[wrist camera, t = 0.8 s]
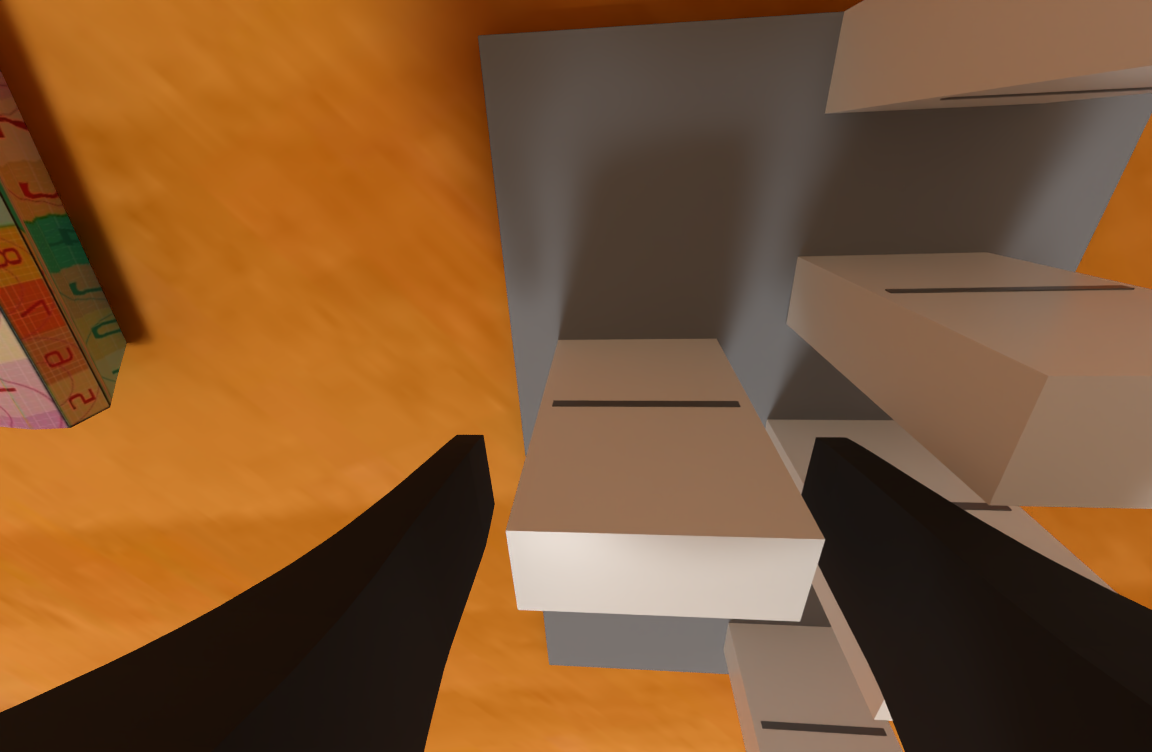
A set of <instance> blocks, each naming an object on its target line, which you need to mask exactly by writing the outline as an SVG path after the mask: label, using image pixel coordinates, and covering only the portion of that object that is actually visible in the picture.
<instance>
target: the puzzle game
mask: <svg viewBox="0 0 1152 752" xmlns="http://www.w3.org/2000/svg"><path fill="white" fill-rule="evenodd" d="M126 344H127V342H126V340H125V338H124V336H123V334H122V332H121V330H120V327H119V325H118V323H117V321H116V319H115V317H114V314H113V312H112V310H111V308H110V306H109V304H108V301H107V299H106V297H105V295H104V293H103V291H102V289H101V286H100V284H99V282H98V280H97V278H96V276H95V273H94V271H93V269H92V267H91V265H90V263H89V260H88V258H87V256H86V254H85V252H84V250H83V248H82V245H81V243H80V241H79V239H78V237H77V235H76V232H75V230H74V228H73V226H72V224H71V222H70V219H69V217H68V215H67V213H66V211H65V209H64V207H63V204H62V202H61V200H60V198H59V196H58V194H57V191H56V189H55V187H54V185H53V183H52V181H51V178H50V176H49V174H48V172H47V170H46V168H45V166H44V163H43V161H42V159H41V157H40V155H39V153H38V150H37V148H36V146H35V144H34V142H33V140H32V137H31V135H30V133H29V131H28V129H27V127H26V125H25V122H24V120H23V118H22V116H21V114H20V112H19V109H18V107H17V105H16V103H15V101H14V99H13V96H12V94H11V92H10V90H9V88H8V86H7V84H6V81H5V79H4V77H3V75H2V73H1V71H0V426H1V427H11V428H22V429H52V428H71V427H73V426H75V425H77V424H79V423H81V422H83V421H85V420H86V419H88V418H90V417H92V416H94V415H96V414H98V413H100V412H102V411H104V410H106V409H108V408H110V405H111V401H112V397H113V392H114V388H115V384H116V379H117V376H118V372H119V369H120V365H121V362H122V358H123V355H124V351H125V348H126Z"/></svg>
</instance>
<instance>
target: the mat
mask: <svg viewBox="0 0 1152 752" xmlns="http://www.w3.org/2000/svg"><path fill="white" fill-rule="evenodd" d="M843 15H844V12H830V13H815V14H800V15H784V16H769V17H754V18H739V19H724V20H708V21H693V22H678V23H663V24H648V25H632V26H617V27H602V28H587V29H571V30H556V31H541V32H526V33H511V34H495V35H480V36H478V41H479V50H480V59H481V68H482V76H483V85H484V94H485V103H486V112H487V120H488V129H489V138H490V147H491V156H492V164H493V173H494V182H495V191H496V200H497V208H498V217H499V226H500V235H501V244H502V252H503V261H504V270H505V279H506V288H507V296H508V305H509V314H510V323H511V332H512V340H513V349H514V358H515V367H516V376H517V385H518V393H519V402H520V411H521V420H522V429H523V437H524V446H525V455H527V452H528V448H529V444H530V441H531V437H532V433H533V430H534V426H535V422H536V419H537V415H538V412H539V408H540V404H541V401H542V397H543V393H544V390H545V386H546V382H547V379H548V375H549V372H550V368H551V364H552V361H553V357H554V353H555V350H556V346H557V343H558V340H609V339H717V341H718V342H719V344H720V346H721V348H722V350H723V352H724V353H725V355H726V357H727V359H728V361H729V363H730V365H731V366H732V368H733V370H734V372H735V374H736V376H737V377H738V379H739V381H740V383H741V385H742V387H743V389H744V390H745V392H746V394H747V396H748V398H749V400H750V401H751V403H752V405H753V407H754V409H755V411H756V413H757V414H758V416H759V418H760V420H761V422H762V424H763V425H764V427H766V422H767V420H893V419H892V418H891V417H890V416H889V415H888V414H887V413H885V412H884V411H883V410H882V409H881V408H880V407H879V406H878V405H877V404H875V403H874V402H873V401H872V400H871V399H870V398H869V397H868V396H866V395H865V394H864V393H863V392H862V391H861V390H860V389H859V388H857V387H856V386H855V385H854V384H853V383H852V382H851V381H850V380H849V379H847V378H846V377H845V376H844V375H843V374H842V373H841V372H840V371H838V370H837V369H836V368H835V367H834V366H833V365H832V364H831V363H830V362H828V361H827V360H826V359H825V358H824V357H823V356H822V355H821V354H819V353H818V352H817V351H816V350H815V349H814V348H813V347H812V346H811V345H809V344H808V343H807V342H806V341H805V340H804V339H803V338H802V337H800V336H799V335H798V334H797V333H796V332H795V331H794V330H793V329H791V328H790V327H789V326H788V325H787V324H786V322H787V316H788V310H789V305H790V299H791V293H792V287H793V281H794V276H795V270H796V264H797V258H798V257H800V256H844V255H888V254H932V253H975V252H988V253H992V254H996V255H1001V256H1005V257H1010V258H1014V259H1019V260H1023V261H1028V262H1032V263H1036V264H1041V265H1045V266H1050V267H1054V268H1059V269H1063V270H1067V271H1072V272H1075V271H1076V269H1077V267H1078V265H1079V263H1080V261H1081V258H1082V256H1083V254H1084V252H1085V250H1086V248H1087V246H1088V244H1089V242H1090V240H1091V238H1092V236H1093V234H1094V231H1095V229H1096V227H1097V225H1098V223H1099V221H1100V219H1101V217H1102V215H1103V213H1104V211H1105V209H1106V207H1107V204H1108V202H1109V200H1110V198H1111V196H1112V194H1113V192H1114V190H1115V188H1116V186H1117V184H1118V182H1119V180H1120V177H1121V175H1122V173H1123V171H1124V169H1125V167H1126V165H1127V163H1128V161H1129V159H1130V157H1131V155H1132V153H1133V151H1134V148H1135V146H1136V144H1137V142H1138V140H1139V138H1140V136H1141V134H1142V132H1143V130H1144V128H1145V126H1146V124H1147V121H1148V119H1149V117H1150V115H1151V113H1152V93H1144V94H1133V95H1123V96H1113V97H1103V98H1092V99H1082V100H1072V101H1061V102H1051V103H1038V104H1018V105H997V106H976V107H955V108H934V109H913V110H892V111H871V112H850V113H830V114H825V110H826V105H827V100H828V94H829V89H830V84H831V79H832V73H833V68H834V63H835V57H836V52H837V47H838V42H839V36H840V31H841V26H842V20H843ZM543 613H544V622H545V631H546V640H547V649H548V657H549V665H564V666H583V667H603V668H622V669H641V670H660V671H680V672H699V673H718V674H729V672H728V667H727V663H726V658H725V654H724V644H725V639H726V633H727V628H728V623H745V624H768V625H792V626H815V627H831V624H830V622H829V620H828V618H827V616H826V614H825V611H824V609H823V607H822V605H821V603H820V600H819V598H818V596H817V594H816V592H815V589H814V587H813V585H812V584H811V587H810V591H809V594H808V597H807V601H806V604H805V607H804V610H803V614H802V617H801V620H800V622H798V621H774V620H751V619H727V618H703V617H679V616H655V615H632V614H608V613H584V612H560V611H543Z"/></svg>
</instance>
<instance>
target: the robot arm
mask: <svg viewBox="0 0 1152 752" xmlns="http://www.w3.org/2000/svg"><path fill="white" fill-rule="evenodd" d="M801 496H802V498H803V499H804V501H805V503H806V505H807V507H808V509H809V510H810V512H811V514H812V516H813V518H814V520H815V522H816V523H817V525H818V527H819V529H820V531H821V533H822V534H823V536H824V538H825V542H824V545H823V548H822V552H821V555H820V558H819V561H818V566H819V568H820V570H821V572H822V574H823V576H824V578H825V580H826V582H827V584H828V586H829V588H830V590H831V592H832V594H833V596H834V598H835V600H836V602H837V604H838V605H839V607H840V609H841V611H842V613H843V615H844V617H845V619H846V621H847V623H848V625H849V627H850V629H851V631H852V633H853V635H854V637H855V639H856V641H857V643H858V645H859V647H860V649H861V651H862V653H863V655H864V657H865V658H866V660H867V662H868V664H869V667H870V669H871V671H872V673H873V675H874V677H875V680H876V682H877V684H878V686H879V688H880V690H881V693H882V695H883V698H884V700H885V703H886V705H887V708H888V710H889V713H890V715H891V718H892V720H893V723H894V725H895V728H896V730H897V733H898V735H899V738H900V740H901V743H902V745H903V748H904V750H905V752H1152V610H1151V609H1148V608H1146V607H1144V606H1142V605H1140V604H1138V603H1136V602H1134V601H1132V600H1130V599H1128V598H1126V597H1123V596H1121V595H1119V594H1117V593H1115V592H1113V591H1111V590H1109V589H1107V588H1105V587H1104V586H1102V585H1100V584H1098V583H1096V582H1094V581H1092V580H1090V579H1088V578H1086V577H1084V576H1082V575H1080V574H1078V573H1076V572H1074V571H1072V570H1070V569H1068V568H1066V567H1064V566H1062V565H1060V564H1059V563H1057V562H1055V561H1053V560H1051V559H1049V558H1047V557H1045V556H1044V555H1042V554H1040V553H1038V552H1036V551H1034V550H1032V549H1031V548H1029V547H1027V546H1025V545H1024V544H1022V543H1020V542H1018V541H1017V540H1015V539H1013V538H1011V537H1010V536H1008V535H1006V534H1004V533H1003V532H1001V531H999V530H997V529H996V528H994V527H992V526H990V525H989V524H987V523H985V522H983V521H982V520H980V519H978V518H977V517H975V516H973V515H972V514H970V513H968V512H967V511H965V510H963V509H962V508H960V507H958V506H957V505H955V504H953V503H952V502H950V501H949V500H947V499H945V498H944V497H942V496H941V495H939V494H937V493H936V492H934V491H933V490H931V489H929V488H928V487H926V486H925V485H923V484H921V483H920V482H918V481H917V480H915V479H913V478H912V477H910V476H909V475H907V474H906V473H904V472H902V471H901V470H899V469H898V468H896V467H895V466H893V465H891V464H890V463H888V462H887V461H885V460H884V459H882V458H880V457H879V456H877V455H876V454H874V453H872V452H871V451H869V450H867V449H866V448H864V447H863V446H861V445H859V444H857V443H856V442H854V441H852V440H850V439H848V438H846V437H816V439H815V443H814V447H813V451H812V455H811V459H810V462H809V466H808V470H807V474H806V478H805V482H804V486H803V490H802V494H801ZM494 505H495V503H494V497H493V491H492V485H491V479H490V473H489V467H488V460H487V454H486V448H485V442H484V436H483V435H456V436H455V437H454V438H452V439H451V440H450V441H449V442H448V443H446V444H445V445H444V446H443V447H442V448H441V449H439V450H438V451H437V452H436V453H435V454H434V455H433V456H431V457H430V458H429V459H428V460H427V461H426V462H425V463H423V464H422V465H421V466H420V467H419V468H418V469H416V470H415V471H414V472H413V473H412V474H411V475H409V476H408V477H407V478H406V479H405V480H404V481H402V482H401V483H400V484H399V485H398V486H396V487H395V488H394V489H393V490H392V491H391V492H389V493H388V494H387V495H385V496H384V497H383V498H382V499H380V500H379V501H378V502H376V503H375V504H374V505H373V506H371V507H370V508H369V509H367V510H366V511H365V512H364V513H362V514H361V515H360V516H358V517H357V518H356V519H355V520H353V521H352V522H351V523H349V524H348V525H347V526H345V527H344V528H343V529H341V530H340V531H339V532H337V533H336V534H334V535H333V536H332V537H330V538H329V539H327V540H326V541H324V542H323V543H322V544H320V545H318V546H317V547H315V548H314V549H312V550H311V551H309V552H308V553H306V554H305V555H303V556H302V557H300V558H299V559H297V560H296V561H294V562H293V563H291V564H290V565H288V566H286V567H285V568H283V569H282V570H280V571H278V572H277V573H275V574H273V575H272V576H270V577H268V578H267V579H265V580H263V581H261V582H260V583H258V584H256V585H255V586H253V587H251V588H250V589H248V590H246V591H244V592H243V593H241V594H239V595H238V596H236V597H234V598H233V599H231V600H229V601H227V602H226V603H224V604H222V605H221V606H219V607H217V608H215V609H213V610H212V611H210V612H208V613H206V614H204V615H202V616H200V617H199V618H197V619H195V620H193V621H191V622H189V623H187V624H185V625H184V626H182V627H180V628H178V629H176V630H174V631H172V632H170V633H168V634H166V635H164V636H162V637H160V638H158V639H156V640H154V641H152V642H150V643H148V644H147V645H145V646H143V647H141V648H139V649H137V650H135V651H133V652H131V653H128V654H126V655H124V656H122V657H120V658H118V659H116V660H114V661H112V662H110V663H108V664H106V665H104V666H101V667H99V668H97V669H95V670H93V671H91V672H88V673H86V674H84V675H82V676H80V677H77V678H75V679H73V680H71V681H69V682H67V683H64V684H62V685H60V686H58V687H56V688H54V689H51V690H49V691H47V692H45V693H43V694H40V695H38V696H36V697H34V698H32V699H30V700H27V701H25V702H23V703H21V704H19V705H16V706H14V707H12V708H10V709H7V710H5V711H3V712H0V752H424V749H425V745H426V740H427V736H428V732H429V727H430V723H431V719H432V715H433V711H434V707H435V703H436V699H437V695H438V691H439V687H440V683H441V679H442V675H443V671H444V668H445V664H446V661H447V658H448V655H449V651H450V648H451V645H452V642H453V639H454V636H455V633H456V631H457V628H458V625H459V622H460V619H461V616H462V613H463V611H464V608H465V605H466V602H467V599H468V596H469V593H470V591H471V588H472V585H473V582H474V579H475V576H476V573H477V570H478V567H479V564H480V562H481V559H482V556H483V553H484V550H485V547H486V543H487V538H488V534H489V529H490V525H491V520H492V515H493V510H494Z"/></svg>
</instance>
